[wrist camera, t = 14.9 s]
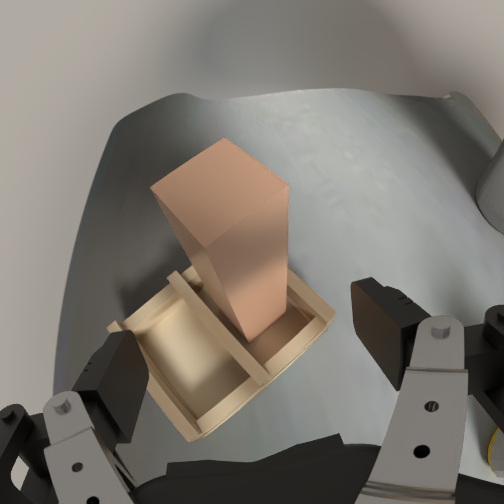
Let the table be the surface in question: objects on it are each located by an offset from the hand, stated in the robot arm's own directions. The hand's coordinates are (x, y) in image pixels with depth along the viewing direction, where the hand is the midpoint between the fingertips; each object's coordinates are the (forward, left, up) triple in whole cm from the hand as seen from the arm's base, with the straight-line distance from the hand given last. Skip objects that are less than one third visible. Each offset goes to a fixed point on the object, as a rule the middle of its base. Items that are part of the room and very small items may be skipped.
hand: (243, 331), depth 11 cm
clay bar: (-3, -5, -15) cm, 16 cm away
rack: (0, -5, -16) cm, 17 cm away
